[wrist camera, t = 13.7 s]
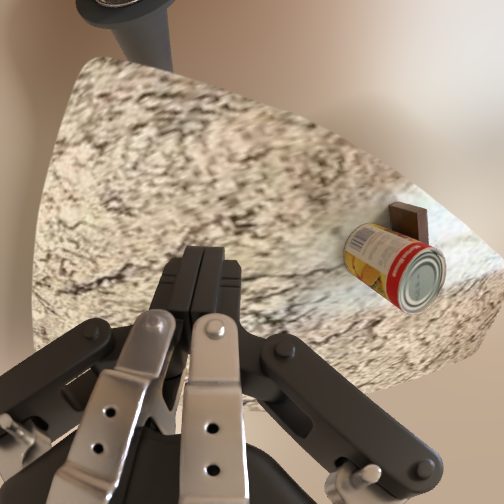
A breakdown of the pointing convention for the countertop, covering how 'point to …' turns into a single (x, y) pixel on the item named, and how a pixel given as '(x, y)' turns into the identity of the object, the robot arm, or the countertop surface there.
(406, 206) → the brown rectangular block
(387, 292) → the canned food
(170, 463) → the robot arm
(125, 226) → the countertop surface
